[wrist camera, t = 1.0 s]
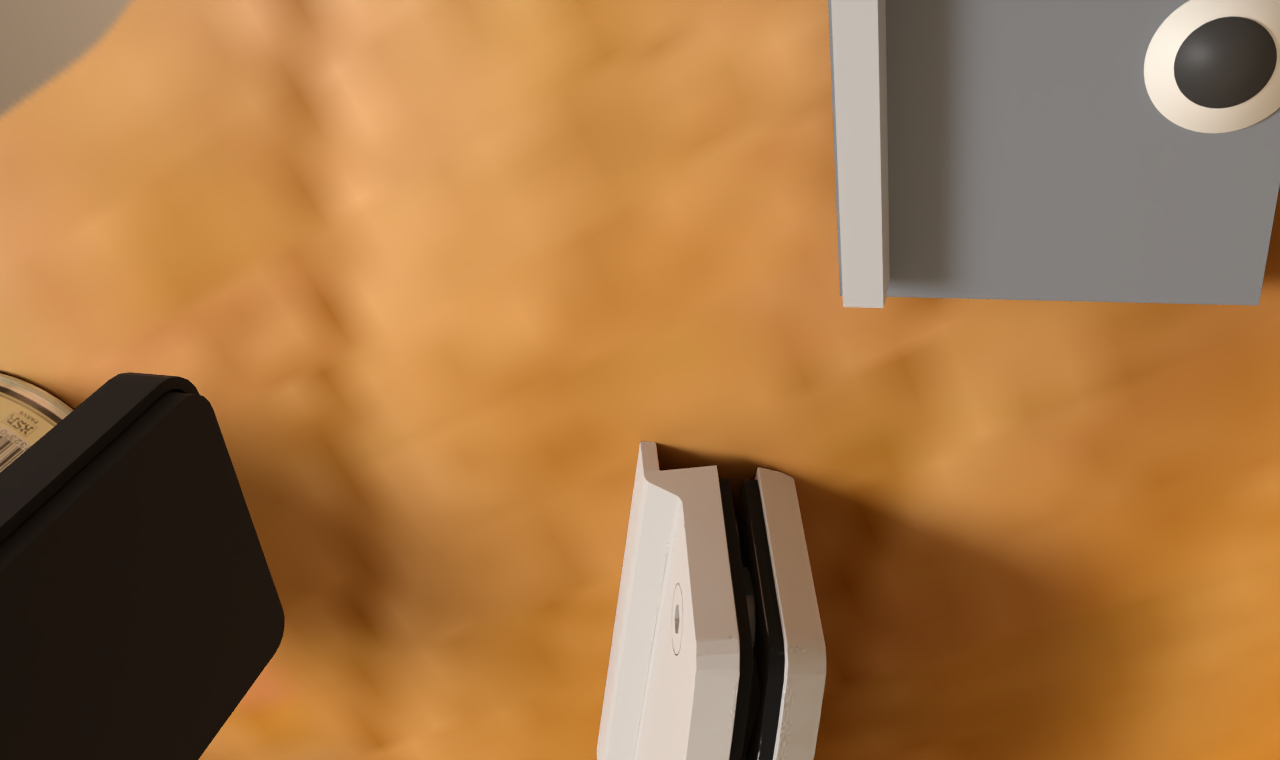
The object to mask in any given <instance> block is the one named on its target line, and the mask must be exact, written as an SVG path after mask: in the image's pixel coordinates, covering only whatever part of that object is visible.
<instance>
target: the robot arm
mask: <svg viewBox="0 0 1280 760" xmlns="http://www.w3.org/2000/svg"><path fill="white" fill-rule="evenodd" d="M283 632H284V613H283V608H282V606H281V603H280V600H279V597H278V594H277V591H276V588H275V585H274V583H273V580H272V577H271V574H270V571H269V568H268V565H267V563H266V560H265V557H264V554H263V551H262V548H261V545H260V542H259V540H258V537H257V534H256V531H255V528H254V525H253V522H252V519H251V517H250V514H249V511H248V508H247V505H246V502H245V499H244V497H243V494H242V491H241V488H240V485H239V482H238V479H237V476H236V474H235V471H234V468H233V465H232V462H231V459H230V456H229V453H228V451H227V448H226V445H225V442H224V439H223V436H222V433H221V430H220V428H219V425H218V422H217V419H216V416H215V413H214V410H213V408H212V406H211V404H210V402H209V401H208V400H207V399H206V398H205V397H204V396H201V395H199V393H198V391H197V389H196V387H195V386H194V385H193V384H192V383H191V382H190V381H189V380H187V379H184V378H181V377H177V376H165V375H154V374H142V373H122V374H118V375H117V376H115V377H113V378H112V379H110V380H109V381H107V382H106V383H105V384H104V385H103V386H102V387H100V388H99V389H98V390H97V391H96V392H94V393H93V394H92V395H91V396H90V397H89V398H87V399H86V400H85V401H84V402H83V403H81V404H80V405H79V406H78V407H77V408H76V409H74V410H73V411H72V412H71V413H70V414H69V415H67V416H66V417H65V418H64V419H63V420H61V421H60V422H59V423H58V424H57V425H56V426H54V427H53V428H52V429H51V430H50V431H48V432H47V433H46V434H45V435H44V436H43V437H41V438H40V439H39V440H38V441H37V442H35V443H34V444H33V445H32V446H31V447H30V448H28V449H27V450H26V451H25V452H24V453H23V454H21V455H20V456H19V457H18V458H17V459H15V460H14V461H13V462H12V463H11V464H10V465H8V466H7V467H6V468H5V469H4V470H2V471H1V472H0V760H198V759H199V758H200V756H201V755H202V754H203V752H204V751H205V750H206V748H207V747H208V745H209V744H210V743H211V741H212V740H213V738H214V737H215V736H216V734H217V733H218V732H219V730H220V729H221V727H222V726H223V725H224V723H225V722H226V720H227V719H228V718H229V716H230V715H231V714H232V712H233V711H234V709H235V708H236V707H237V705H238V704H239V702H240V701H241V700H242V698H243V697H244V696H245V694H246V693H247V691H248V690H249V689H250V687H251V686H252V684H253V683H254V682H255V680H256V679H257V678H258V676H259V675H260V673H261V672H262V671H263V669H264V668H265V666H266V665H267V664H268V662H269V661H270V659H271V658H272V657H273V655H274V654H275V652H276V651H277V649H278V647H279V645H280V642H281V640H282V637H283Z"/></svg>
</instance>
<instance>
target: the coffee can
mask: <svg viewBox="0 0 1280 760" xmlns="http://www.w3.org/2000/svg"><path fill="white" fill-rule="evenodd" d="M72 411H73V409H72V408H70V407H69V406H68V405H66V404H65V403H64V402H62V401H61V400H59V399H58V398H56V397H54V396H53V395H51V394H50V393H48V392H46V391H44V390H42V389H41V388H39V387H37V386H35V385H32V384H30V383H28V382H25V381H23V380H21V379H18V378H15V377H12V376H8V375H5V374H2V373H0V472H1V471H2V470H4V469H5V468H6V467H7V466H8V465H10V464H11V463H12V462H13V461H14V460H15V459H17V458H18V457H19V456H20V455H21V454H23V453H24V452H25V451H26V450H27V449H28V448H30V447H31V446H32V445H33V444H34V443H35V442H37V441H38V440H39V439H40V438H41V437H43V436H44V435H45V434H46V433H47V432H48V431H50V430H51V429H52V428H53V427H54V426H56V425H57V424H58V423H59V422H60V421H61V420H63V419H64V418H65V417H66V416H67V415H69V414H70V413H71V412H72Z"/></svg>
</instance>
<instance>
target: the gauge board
mask: <svg viewBox="0 0 1280 760" xmlns="http://www.w3.org/2000/svg"><path fill="white" fill-rule="evenodd" d="M828 6H829V30H830V55H831V80H832V105H833V130H834V154H835V179H836V204H837V229H838V254H839V279H840V296H843V307H865V308H883V307H884V303H885V299H886V297H923V298H966V299H1008V300H1051V301H1093V302H1136V303H1178V304H1221V305H1259V301H1260V295H1261V290H1262V284H1263V278H1264V272H1265V266H1266V261H1267V255H1268V249H1269V243H1270V237H1271V232H1272V226H1273V220H1274V214H1275V209H1276V203H1277V197H1278V191H1279V185H1280V0H828Z"/></svg>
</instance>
